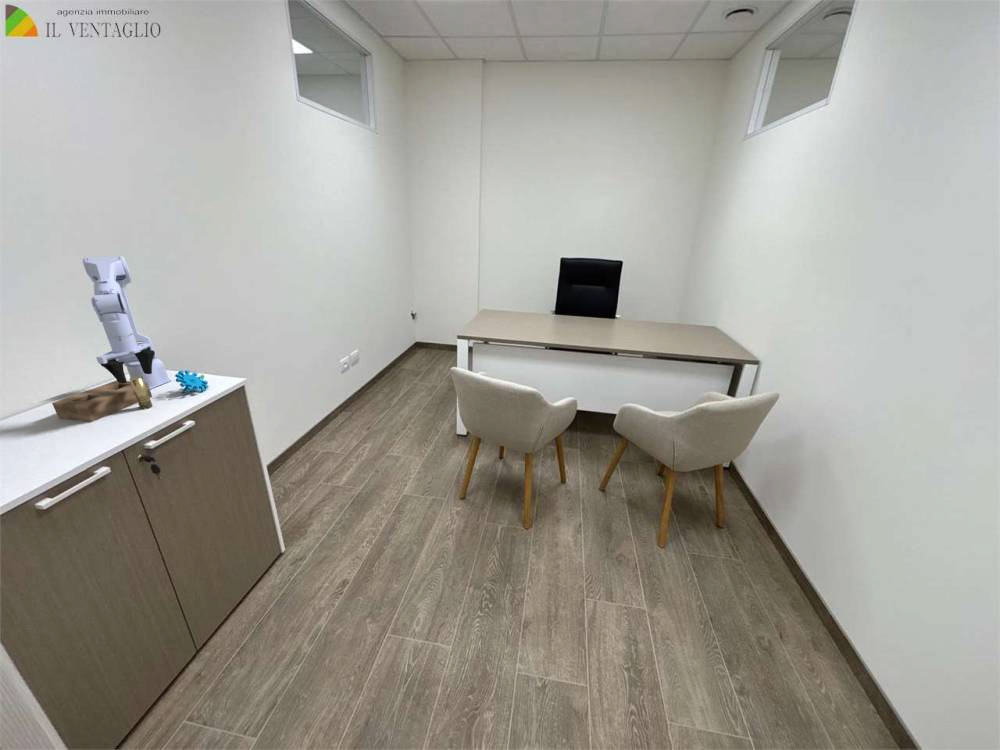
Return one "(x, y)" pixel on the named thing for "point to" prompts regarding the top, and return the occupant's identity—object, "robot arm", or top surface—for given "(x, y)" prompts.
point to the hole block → (97, 402)
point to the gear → (191, 381)
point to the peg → (141, 392)
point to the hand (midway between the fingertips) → (135, 378)
